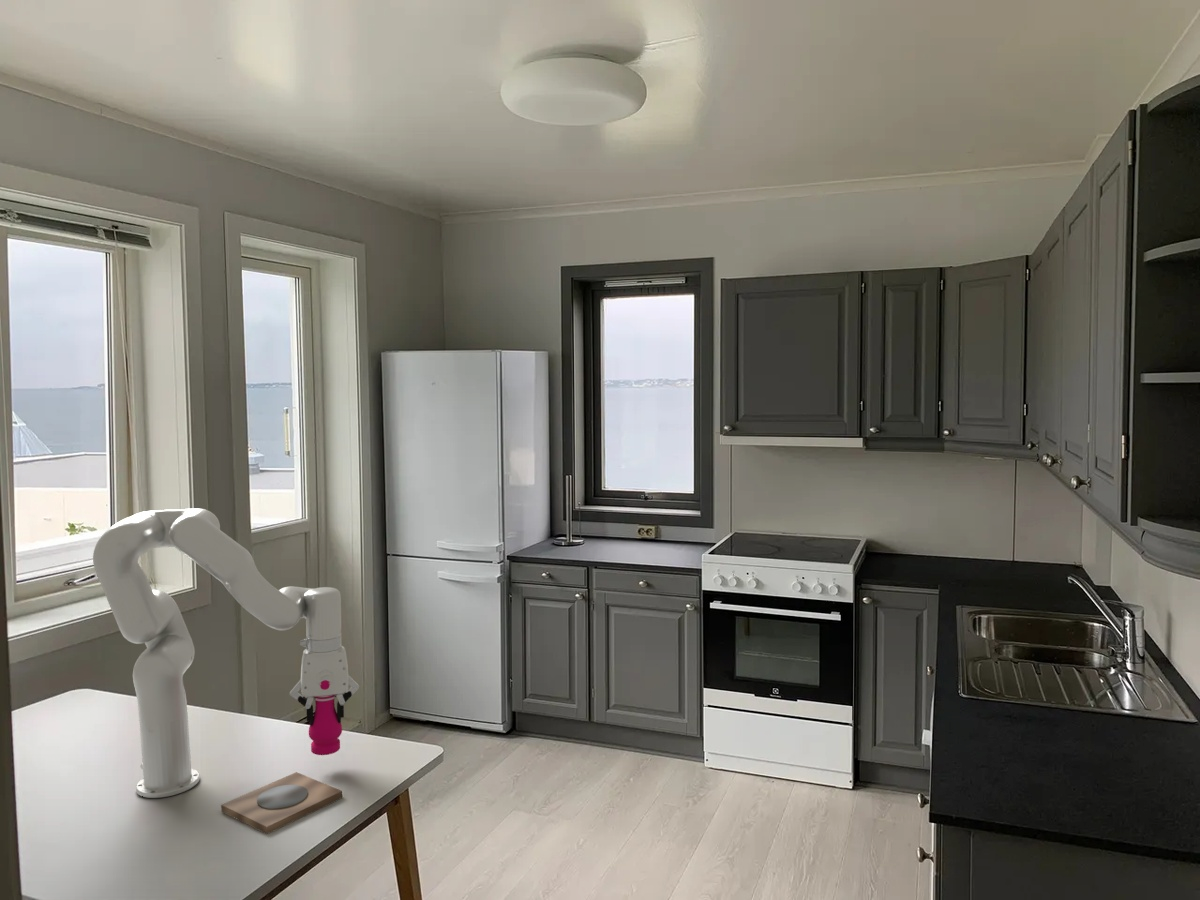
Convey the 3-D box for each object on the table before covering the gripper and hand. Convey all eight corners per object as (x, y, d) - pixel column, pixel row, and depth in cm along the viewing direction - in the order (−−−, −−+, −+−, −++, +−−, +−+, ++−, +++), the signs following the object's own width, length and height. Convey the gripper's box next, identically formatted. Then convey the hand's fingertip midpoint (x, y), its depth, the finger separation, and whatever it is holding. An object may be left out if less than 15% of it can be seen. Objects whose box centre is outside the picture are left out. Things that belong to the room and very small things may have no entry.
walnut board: (221, 811, 186) (221, 802, 185) (296, 778, 200) (296, 770, 200) (267, 834, 176) (266, 824, 176) (342, 797, 191) (342, 789, 190)
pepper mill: (332, 757, 199) (331, 669, 197) (302, 754, 200) (301, 667, 199) (348, 744, 206) (346, 659, 204) (319, 741, 208) (317, 657, 206)
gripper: (283, 652, 195) (285, 733, 196) (364, 645, 200) (365, 724, 202) (283, 642, 202) (285, 720, 204) (362, 635, 207) (363, 712, 209)
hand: (325, 721), depth 203 cm, fingers closed on pepper mill, 5 cm apart
